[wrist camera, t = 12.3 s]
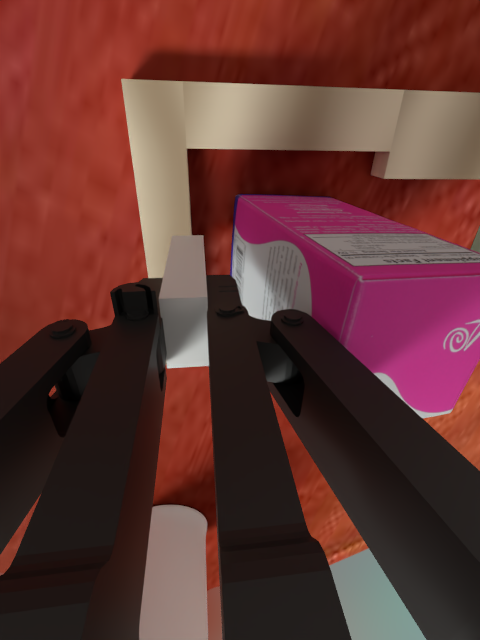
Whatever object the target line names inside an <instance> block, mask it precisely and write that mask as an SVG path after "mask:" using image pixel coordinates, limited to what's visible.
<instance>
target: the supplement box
mask: <svg viewBox="0 0 480 640" xmlns="http://www.w3.org/2000/svg"><path fill="white" fill-rule="evenodd" d="M230 276H232V277H233V278H234V279H235V280H236V283H237V287H238V291H239V295H240V299H241V303H242V305H243V306H245V307H246V309H247V310H248V314H249V315H250V316H252V317H254V318H257V319H262V320H269V321H271V317H272V315H273V314H274V313H275V312H276V311H280V310H284V309H297V310H299V311H302V312H305V313H307V314H309V315H310V316H311V317H312V318H314V319H315V320H316V321H317V322H318V323H319V324H320V325H321V326H322V327H323V328H324V329H326V330H327V331H328V332H329V333H330V334H331V335H332V336H333V337H334V338H335V339H336V340H338V341H339V342H340V343H341V344H342V345H343V346H344V347H345V348H346V349H347V350H348V351H349V352H351V353H352V354H353V355H354V356H355V357H356V358H357V359H358V360H359V361H360V362H361V363H363V364H364V365H365V366H366V367H367V368H368V369H369V370H370V371H371V372H372V373H373V374H374V375H376V376H377V377H378V378H379V379H380V380H381V381H382V382H383V383H384V384H385V385H386V386H388V387H389V388H390V389H391V390H392V391H393V392H394V393H395V394H396V395H397V396H398V397H399V398H401V399H402V400H403V401H404V402H405V403H406V404H407V405H408V406H409V407H410V408H411V409H413V410H414V411H415V412H416V413H417V414H418V415H419V416H420V417H421V418H427V417H433V416H438V415H443V414H447V413H451V411H452V410H453V408H454V406H455V404H456V402H457V400H458V398H459V396H460V394H461V393H462V391H463V389H464V387H465V385H466V383H467V381H468V380H469V378H470V376H471V374H472V372H473V370H474V369H475V367H476V365H477V363H478V361H479V359H480V253H478V252H476V251H473V250H470V249H468V248H465V247H462V246H459V245H457V244H454V243H451V242H449V241H446V240H443V239H441V238H438V237H435V236H433V235H430V234H427V233H425V232H422V231H420V230H417V229H414V228H412V227H409V226H406V225H403V224H401V223H398V222H395V221H392V220H389V219H387V218H384V217H382V216H379V215H376V214H374V213H371V212H369V211H366V210H363V209H361V208H358V207H355V206H353V205H350V204H347V203H345V202H342V201H339V200H337V199H334V198H331V197H319V196H293V195H264V194H239V195H236V198H235V205H234V218H233V233H232V251H231V270H230Z"/></svg>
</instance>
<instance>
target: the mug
mask: <svg viewBox="0 0 480 640" xmlns="http://www.w3.org/2000/svg"><path fill="white" fill-rule="evenodd" d="M206 531H207V521H206V518H205V517H204V516H203V514H201V513H200V512H199V511H197V510H195V509H193V508H190V507H187V506H182V505H159V506H154V507H152V514H151V523H150V532H149V541H148V550H147V559H146V568H145V577H144V586H143V595H142V604H141V613H140V624H139V640H208V623H207V583H206Z"/></svg>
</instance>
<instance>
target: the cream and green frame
mask: <svg viewBox="0 0 480 640" xmlns="http://www.w3.org/2000/svg"><path fill="white" fill-rule="evenodd" d="M121 81H122V88H123V96H124V103H125V110H126V118H127V125H128V132H129V139H130V147H131V154H132V161H133V169H134V176H135V183H136V191H137V198H138V205H139V213H140V220H141V227H142V235H143V242H144V249H145V257H146V264H147V271H148V278H163V276H164V271H165V266H166V262H167V257H168V252H169V248H170V243H171V238H172V236H188V235H192V224H191V206H190V188H189V171H188V153H187V148H190V149H255V150H321V151H375V156H374V160H373V165H372V170H371V175H372V176H376V177H379V178H383V179H480V93H472V92H446V91H420V90H394V89H369V88H343V87H317V86H291V85H265V84H240V83H214V82H188V81H162V80H136V79H121ZM470 250H473V251H476V252H478V253H480V227H479V229H478V232H477V234H476V237H475V239H474V242H473V244H472V247H471V249H470ZM166 364H167V362H166Z"/></svg>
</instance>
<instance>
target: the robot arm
mask: <svg viewBox="0 0 480 640" xmlns="http://www.w3.org/2000/svg"><path fill="white" fill-rule="evenodd" d="M110 294H111V299H112V304H113V308H114V313H115V318H114V320H113V323H112V325H110V326H107V327H104V328H99V329H95V330H90V331H89V330H88V326H87V324H86V323H85V322H83V321H80V320H69V319H66V320H63V321H62V320H60V321H57V322H55V323H52V324H50V325H48V326H46V327H45V328H43V329H41V330H40V331H39V332H38V333H37V334H35V335H34V336H33V337H32V338H31V339H29V340H28V341H27V342H26V343H25V344H23V345H22V346H21V347H20V348H19V349H17V350H16V351H15V352H14V353H13V354H11V355H10V356H9V357H8V358H7V359H5V360H4V361H3V362H2V363H1V364H0V554H1V553H2V551H3V550H4V548H5V547H6V545H7V544H8V542H9V541H10V539H11V538H12V536H13V535H14V533H15V532H16V530H17V529H18V527H19V526H20V524H21V523H22V521H23V520H24V518H25V517H26V515H27V514H28V512H29V511H30V509H31V508H32V506H33V505H34V503H35V502H36V500H37V499H38V497H39V496H40V494H41V496H40V498H39V501H38V503H37V505H36V508H35V510H34V513H33V515H32V517H31V520H30V522H29V525H28V527H27V529H26V532H25V534H24V537H23V539H22V541H21V544H20V546H19V549H18V551H17V553H16V556H15V558H14V560H13V562H12V564H11V566H10V567H9V568H8V570H7V571H6V572H5V573H4V574H3V575H1V576H0V640H139V624H140V613H141V604H142V595H143V586H144V577H145V568H146V559H147V550H148V541H149V532H150V523H151V514H152V505H153V496H154V487H155V478H156V470H157V461H158V452H159V443H160V434H161V425H162V416H163V407H164V398H165V389H166V380H167V377H166V369H165V364H166V362H167V368H180V367H197V366H209V378H210V397H211V417H212V437H213V457H214V477H215V497H216V517H217V537H218V556H219V576H220V596H221V616H222V639H223V640H351V636H350V633H349V630H348V626H347V624H346V620H345V616H344V613H343V610H342V606H341V604H340V600H339V597H338V593H337V590H336V587H335V583H334V580H333V577H332V573H331V570H330V567H329V564H328V561H327V558H326V556H325V553H324V551H323V549H322V547H321V545H320V543H319V541H317V540H316V539H314V538H313V537H311V535H310V533H309V531H308V529H307V526H306V523H305V519H304V515H303V512H302V508H301V504H300V501H299V497H298V493H297V490H296V486H295V482H294V479H293V475H292V471H291V468H290V464H289V460H288V457H287V453H286V449H285V446H284V442H283V438H282V435H281V431H280V427H279V424H278V420H277V416H276V413H275V409H274V405H273V402H272V398H271V394H272V395H273V397H274V398H275V400H276V402H277V403H278V405H279V406H280V408H281V410H282V411H283V413H284V414H285V416H286V417H287V419H288V421H289V422H290V424H291V425H292V427H293V429H294V430H295V432H296V433H297V435H298V437H299V438H300V440H301V441H302V443H303V444H304V446H305V448H306V449H307V451H308V452H309V454H310V456H311V457H312V459H313V460H314V462H315V463H316V465H317V467H318V468H319V470H320V471H321V473H322V475H323V476H324V478H325V479H326V481H327V482H328V484H329V486H330V487H331V489H332V490H333V492H334V494H335V495H336V497H337V498H338V500H339V501H340V503H341V505H342V506H343V508H344V509H345V511H346V513H347V514H348V516H349V517H350V519H351V520H352V522H353V524H354V525H355V527H356V528H357V530H358V532H359V533H360V535H361V536H362V538H363V540H364V541H365V543H366V544H367V546H368V547H369V549H370V551H371V552H372V553H373V555H374V557H375V559H376V560H377V562H378V563H379V565H380V566H381V568H382V570H383V571H384V573H385V574H386V576H387V577H388V579H389V581H390V582H391V584H392V585H393V587H394V589H395V590H396V592H397V593H398V595H399V597H400V598H401V600H402V601H403V603H404V604H405V606H406V608H407V609H408V611H409V612H410V614H411V615H412V617H413V619H414V620H415V622H416V623H417V625H418V626H419V628H420V630H421V631H422V633H423V635H424V636H425V638H426V639H427V640H480V471H479V470H478V469H477V468H476V467H475V466H473V465H472V464H471V463H470V462H469V461H468V460H467V459H466V458H465V457H464V456H463V455H461V454H460V453H459V452H458V451H457V450H456V449H455V448H454V447H453V446H452V445H451V444H449V443H448V442H447V441H446V440H445V439H444V438H443V437H442V436H441V435H440V434H439V433H438V432H436V431H435V430H434V429H433V428H432V427H431V426H430V425H429V424H428V423H427V422H426V421H424V420H423V419H422V418H421V417H420V416H419V415H418V414H417V413H416V412H415V411H414V410H413V409H411V408H410V407H409V406H408V405H407V404H406V403H405V402H404V401H403V400H402V399H401V398H399V397H398V396H397V395H396V394H395V393H394V392H393V391H392V390H391V389H390V388H389V387H388V386H386V385H385V384H384V383H383V382H382V381H381V380H380V379H379V378H378V377H377V376H376V375H374V374H373V373H372V372H371V371H370V370H369V369H368V368H367V367H366V366H365V365H364V364H363V363H361V362H360V361H359V360H358V359H357V358H356V357H355V356H354V355H353V354H352V353H351V352H349V351H348V350H347V349H346V348H345V347H344V346H343V345H342V344H341V343H340V342H339V341H338V340H336V339H335V338H334V337H333V336H332V335H331V334H330V333H329V332H328V331H327V330H326V329H324V328H323V327H322V326H321V325H320V324H319V323H318V322H317V321H316V320H315V319H314V318H312V317H311V316H310V315H309V314H307V313H305V312H302V311H299V310H297V309H284V310H280V311H276V312H275V313H274V314H273V315H272V317H271V321H269V320H262V319H257V318H254V317H252V316H250V315H249V314H248V310H247V309H246V307H245V306H243V305H242V303H241V299H240V295H239V291H238V287H237V283H236V280H235V279H234V278H233V277H232V276H230V275H207V276H206V268H205V253H204V238H203V235H188V236H172V238H171V243H170V248H169V252H168V257H167V262H166V266H165V271H164V276H163V278H143V279H142V280H141V281H139V282H136V283H127V284H124V285H120V286H118V287H116V288H114V289H113V290H112V291H111V292H110ZM54 385H55V388H56V390H57V391H56V392H55V393H54V394H53V395H52V396H51V397H50V396H49V395H48V394H49V392H50V391H51V389H52V387H53V386H54ZM270 392H271V394H270Z"/></svg>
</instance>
